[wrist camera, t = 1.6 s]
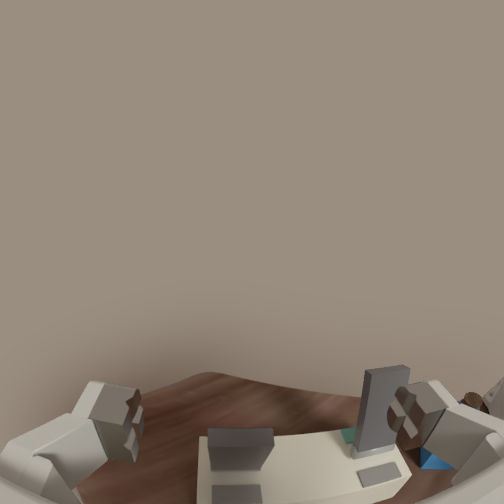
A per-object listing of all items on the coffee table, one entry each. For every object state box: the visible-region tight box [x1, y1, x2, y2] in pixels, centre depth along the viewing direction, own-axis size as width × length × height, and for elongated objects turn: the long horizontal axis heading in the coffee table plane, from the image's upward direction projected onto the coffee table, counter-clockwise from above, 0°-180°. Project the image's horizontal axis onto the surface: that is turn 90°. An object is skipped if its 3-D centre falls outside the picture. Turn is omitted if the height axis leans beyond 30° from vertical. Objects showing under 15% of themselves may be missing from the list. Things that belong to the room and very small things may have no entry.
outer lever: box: [207, 428, 275, 472], centre depth 23 cm, size 5×2×11 cm, turn 95°
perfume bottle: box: [420, 392, 483, 469], centre depth 28 cm, size 6×6×12 cm
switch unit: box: [197, 427, 412, 504], centre depth 27 cm, size 24×10×6 cm, turn 95°
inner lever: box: [350, 365, 410, 460], centre depth 27 cm, size 5×2×11 cm, turn 95°
